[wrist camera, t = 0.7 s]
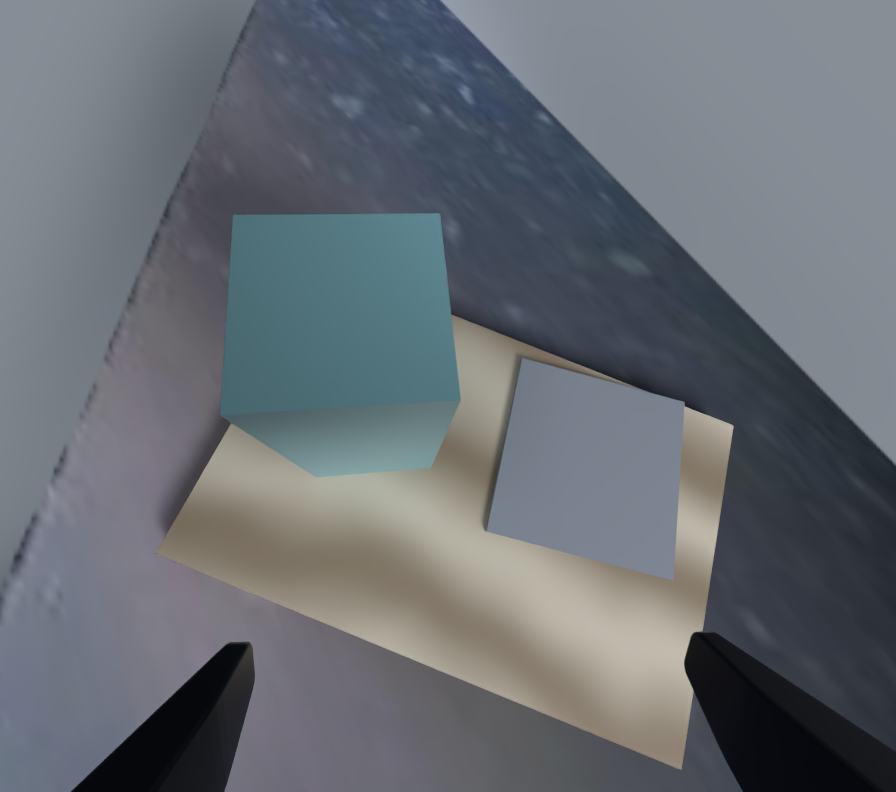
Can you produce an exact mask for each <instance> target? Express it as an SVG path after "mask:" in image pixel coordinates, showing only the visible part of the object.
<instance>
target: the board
mask: <svg viewBox="0 0 896 792" xmlns="http://www.w3.org/2000/svg"><path fill="white" fill-rule="evenodd" d="M451 317H452V326H453V335H454V343H455V352H456V361H457V370H458V379H459V388H460V397H461V401H460V403H459V406H458V408H457V410H456V412H455V415H454V417H453V419H452V421H451V424H450V426H449V428H448V430H447V433H446V435H445V437H444V439H443V442H442V444H441V446H440V448H439V451H438V453H437V455H436V457H435V460H434V462H433V464H432V466H431V468H424V469H412V470H400V471H388V472H376V473H365V474H353V475H341V476H329V477H317V478H316V477H314V476H313V475H311V474H310V473H308V472H307V471H305V470H303V469H302V468H300V467H299V466H297V465H296V464H294V463H293V462H291V461H290V460H288V459H286V458H285V457H283V456H282V455H280V454H279V453H277V452H276V451H274V450H272V449H271V448H269V447H268V446H266V445H265V444H263V443H262V442H260V441H258V440H257V439H255V438H254V437H252V436H251V435H249V434H248V433H246V432H245V431H243V430H241V429H240V428H238V427H237V426H235V425H234V424H232V423H231V425H230V426H229V428H228V430H227V432H226V433H225V435H224V437H223V438H222V440H221V442H220V444H219V445H218V447H217V449H216V450H215V452H214V454H213V456H212V457H211V459H210V461H209V462H208V464H207V466H206V468H205V469H204V471H203V473H202V475H201V476H200V478H199V480H198V481H197V483H196V485H195V487H194V488H193V490H192V492H191V493H190V495H189V497H188V499H187V500H186V502H185V504H184V505H183V507H182V509H181V511H180V512H179V514H178V516H177V517H176V519H175V521H174V523H173V524H172V526H171V528H170V530H169V531H168V533H167V535H166V536H165V538H164V540H163V542H162V543H161V545H160V547H159V548H158V550H157V552H156V554H157V555H160V556H162V557H165V558H167V559H170V560H172V561H174V562H177V563H179V564H182V565H184V566H187V567H189V568H192V569H194V570H196V571H199V572H201V573H204V574H206V575H209V576H211V577H213V578H216V579H218V580H221V581H223V582H226V583H228V584H230V585H233V586H235V587H238V588H240V589H243V590H245V591H247V592H250V593H252V594H255V595H257V596H260V597H262V598H264V599H267V600H269V601H272V602H274V603H277V604H279V605H281V606H284V607H286V608H289V609H291V610H294V611H296V612H298V613H301V614H303V615H306V616H308V617H311V618H313V619H315V620H318V621H320V622H323V623H325V624H328V625H330V626H333V627H335V628H337V629H340V630H342V631H345V632H347V633H350V634H352V635H354V636H357V637H359V638H362V639H364V640H367V641H369V642H371V643H374V644H376V645H379V646H381V647H384V648H386V649H388V650H391V651H393V652H396V653H398V654H401V655H403V656H405V657H408V658H410V659H413V660H415V661H418V662H420V663H422V664H425V665H427V666H430V667H432V668H435V669H437V670H439V671H442V672H444V673H447V674H449V675H452V676H454V677H457V678H459V679H461V680H464V681H466V682H469V683H471V684H474V685H476V686H478V687H481V688H483V689H486V690H488V691H491V692H493V693H495V694H498V695H500V696H503V697H505V698H508V699H510V700H512V701H515V702H517V703H520V704H522V705H525V706H527V707H529V708H532V709H534V710H537V711H539V712H542V713H544V714H546V715H549V716H551V717H554V718H556V719H559V720H561V721H563V722H566V723H568V724H571V725H573V726H576V727H578V728H580V729H583V730H585V731H588V732H590V733H593V734H595V735H598V736H600V737H602V738H605V739H607V740H610V741H612V742H615V743H617V744H619V745H622V746H624V747H627V748H629V749H632V750H634V751H636V752H639V753H641V754H644V755H646V756H649V757H651V758H653V759H656V760H658V761H661V762H663V763H666V764H668V765H670V766H673V767H675V768H678V769H680V770H681V769H682V763H683V756H684V749H685V743H686V736H687V730H688V723H689V716H690V710H691V703H692V697H693V688H692V686H691V684H690V682H689V680H688V677H687V675H686V672H685V668H684V659H685V655H686V652H687V648H688V645H689V641H690V637H691V635H692V634H693V633H694V632H699V631H702V630H703V624H704V617H705V611H706V604H707V597H708V591H709V584H710V577H711V571H712V564H713V558H714V551H715V544H716V538H717V531H718V525H719V518H720V511H721V505H722V498H723V491H724V485H725V478H726V472H727V465H728V458H729V452H730V445H731V438H732V432H733V425H731V424H728V423H725V422H723V421H720V420H718V419H715V418H713V417H710V416H708V415H705V414H703V413H700V412H698V411H695V410H692V409H690V408H687V407H685V406H684V421H683V437H682V453H681V468H680V484H679V500H678V516H677V532H676V548H675V564H674V580H668V579H664V578H660V577H657V576H653V575H649V574H645V573H641V572H638V571H634V570H630V569H626V568H622V567H619V566H615V565H611V564H607V563H603V562H600V561H596V560H592V559H588V558H584V557H581V556H577V555H573V554H569V553H565V552H562V551H558V550H554V549H550V548H546V547H543V546H539V545H535V544H531V543H527V542H524V541H520V540H516V539H512V538H508V537H505V536H501V535H497V534H493V533H489V532H486V531H485V529H486V525H487V520H488V515H489V510H490V505H491V501H492V496H493V491H494V486H495V481H496V476H497V472H498V467H499V462H500V457H501V452H502V447H503V443H504V438H505V433H506V428H507V423H508V418H509V414H510V409H511V404H512V399H513V394H514V389H515V385H516V380H517V375H518V370H519V365H520V361H521V359H522V358H524V359H528V360H532V361H535V362H539V363H543V364H546V365H550V366H554V367H557V368H561V369H565V370H568V371H572V372H576V373H579V374H583V375H587V376H591V377H594V378H598V379H602V380H605V381H609V382H613V383H616V384H620V385H624V386H627V387H631V388H635V389H638V390H642V389H639V388H637V387H634V386H632V385H629V384H626V383H624V382H621V381H619V380H616V379H614V378H611V377H609V376H606V375H604V374H601V373H599V372H596V371H593V370H591V369H588V368H586V367H583V366H581V365H578V364H576V363H573V362H571V361H568V360H566V359H563V358H560V357H558V356H555V355H553V354H550V353H548V352H545V351H543V350H540V349H538V348H535V347H533V346H530V345H527V344H525V343H522V342H520V341H517V340H515V339H512V338H510V337H507V336H505V335H502V334H500V333H497V332H494V331H492V330H489V329H487V328H484V327H482V326H479V325H477V324H474V323H472V322H469V321H467V320H464V319H461V318H459V317H456V316H454V315H451ZM642 391H644V390H642ZM646 392H647V391H646Z"/></svg>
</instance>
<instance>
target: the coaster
mask: <svg viewBox="0 0 896 792" xmlns="http://www.w3.org/2000/svg"><path fill="white" fill-rule="evenodd" d="M684 405H685V402H682V401H679V400H675V399H671V398H668V397H664V396H660V395H657V394H653V393H649V392H646V391H642V390H638V389H635V388H631V387H627V386H624V385H620V384H616V383H613V382H609V381H605V380H602V379H598V378H594V377H591V376H587V375H583V374H579V373H576V372H572V371H568V370H565V369H561V368H557V367H554V366H550V365H546V364H543V363H539V362H535V361H532V360H528V359H524V358H522V359H521V361H520V365H519V370H518V375H517V380H516V385H515V389H514V394H513V399H512V404H511V409H510V414H509V418H508V423H507V428H506V433H505V438H504V443H503V447H502V452H501V457H500V462H499V467H498V472H497V476H496V481H495V486H494V491H493V496H492V501H491V505H490V510H489V515H488V520H487V525H486V529H485V531H486V532H489V533H493V534H497V535H501V536H505V537H508V538H512V539H516V540H520V541H524V542H527V543H531V544H535V545H539V546H543V547H546V548H550V549H554V550H558V551H562V552H565V553H569V554H573V555H577V556H581V557H584V558H588V559H592V560H596V561H600V562H603V563H607V564H611V565H615V566H619V567H622V568H626V569H630V570H634V571H638V572H641V573H645V574H649V575H653V576H657V577H660V578H664V579H668V580H674V564H675V548H676V532H677V516H678V500H679V484H680V468H681V453H682V437H683V421H684Z"/></svg>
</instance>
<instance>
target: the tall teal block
mask: <svg viewBox="0 0 896 792" xmlns="http://www.w3.org/2000/svg"><path fill="white" fill-rule="evenodd" d="M460 401H461V397H460V388H459V379H458V370H457V361H456V352H455V343H454V335H453V326H452V317H451V308H450V299H449V290H448V281H447V272H446V264H445V255H444V246H443V237H442V228H441V219H440V214H287V215H233V224H232V239H231V254H230V269H229V284H228V300H227V315H226V330H225V345H224V361H223V376H222V391H221V406H220V416H221V417H223V418H224V419H226V420H227V421H229V422H231V423H232V424H234V425H235V426H237V427H238V428H240V429H241V430H243V431H245V432H246V433H248V434H249V435H251V436H252V437H254V438H255V439H257V440H258V441H260V442H262V443H263V444H265V445H266V446H268V447H269V448H271V449H272V450H274V451H276V452H277V453H279V454H280V455H282V456H283V457H285V458H286V459H288V460H290V461H291V462H293V463H294V464H296V465H297V466H299V467H300V468H302V469H303V470H305V471H307V472H308V473H310V474H311V475H313V476H314V477H316V478H317V477H329V476H341V475H353V474H365V473H376V472H388V471H400V470H412V469H424V468H431V466H432V464H433V462H434V460H435V457H436V455H437V453H438V451H439V448H440V446H441V444H442V442H443V439H444V437H445V435H446V433H447V430H448V428H449V426H450V424H451V421H452V419H453V417H454V415H455V412H456V410H457V408H458V406H459V403H460Z"/></svg>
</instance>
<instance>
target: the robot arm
mask: <svg viewBox="0 0 896 792" xmlns="http://www.w3.org/2000/svg"><path fill="white" fill-rule="evenodd" d="M684 668H685V672H686V675H687V677H688V680H689V682H690V684H691V686H692V688H693V691H694V693H695V695H696V697H697V699H698V702H699V704H700V706H701V708H702V710H703V712H704V715H705V717H706V719H707V721H708V723H709V726H710V728H711V730H712V732H713V734H714V737H715V739H716V741H717V743H718V745H719V747H720V749H721V751H722V754H723V756H724V758H725V760H726V762H727V763H728V765H729V767H730V769H731V771H732V773H733V775H734V777H735V778H736V780H737V782H738V784H739V786H740V787H741V789H742V791H743V792H896V751H894V750H893V749H891V748H890V747H888V746H887V745H885V744H884V743H882V742H881V741H879V740H878V739H876V738H875V737H873V736H872V735H870V734H869V733H867V732H866V731H864V730H863V729H861V728H860V727H858V726H857V725H855V724H853V723H852V722H850V721H849V720H847V719H846V718H844V717H843V716H841V715H840V714H838V713H837V712H835V711H834V710H832V709H831V708H829V707H828V706H826V705H825V704H823V703H822V702H820V701H819V700H817V699H815V698H814V697H812V696H811V695H809V694H808V693H806V692H805V691H803V690H802V689H800V688H799V687H797V686H796V685H794V684H793V683H791V682H790V681H788V680H787V679H785V678H784V677H782V676H781V675H779V674H778V673H776V672H774V671H773V670H771V669H770V668H768V667H767V666H765V665H764V664H762V663H761V662H759V661H758V660H756V659H755V658H753V657H752V656H750V655H749V654H747V653H746V652H744V651H743V650H741V649H740V648H738V647H737V646H735V645H733V644H732V643H730V642H729V641H727V640H726V639H724V638H723V637H721V636H720V635H718V634H717V633H715V632H711V631H699V632H694V633H693V634H692V635H691V637H690V641H689V645H688V648H687V652H686V655H685V659H684ZM254 679H255V671H254V660H253V649H252V645H251V643H250V642H230V643H228V644H226V645H225V646H224V647H223V648H222V649H221V650H220V651H218V652H217V653H216V654H215V655H214V656H213V657H212V658H211V659H210V660H209V661H208V662H207V663H206V664H205V665H204V666H203V667H202V668H201V669H200V670H198V671H197V672H196V673H195V674H194V675H193V676H192V677H191V678H190V679H189V680H188V681H187V682H186V683H185V684H184V685H183V686H182V687H181V688H180V689H178V690H177V691H176V692H175V693H174V694H173V695H172V696H171V697H170V698H169V699H168V700H167V701H166V702H165V703H164V704H163V705H162V706H161V707H160V708H158V709H157V710H156V711H155V712H154V713H153V714H152V715H151V716H150V717H149V718H148V719H147V720H146V721H145V722H144V723H143V724H142V725H141V726H140V727H138V728H137V729H136V730H135V731H134V732H133V733H132V734H131V735H130V736H129V737H128V738H127V739H126V740H125V741H124V742H123V743H122V744H121V745H120V746H118V747H117V748H116V749H115V750H114V751H113V752H112V753H111V754H110V755H109V756H108V757H107V758H106V759H105V760H104V761H103V762H102V763H101V764H100V765H98V766H97V767H96V768H95V769H94V770H93V771H92V772H91V773H90V774H89V775H88V776H87V777H86V778H85V779H84V780H83V781H82V782H81V783H80V784H78V785H77V786H76V787H75V788H74V789H73V790H72V791H71V792H224V791H225V788H226V785H227V781H228V778H229V774H230V771H231V767H232V764H233V760H234V756H235V753H236V749H237V745H238V742H239V738H240V734H241V731H242V727H243V723H244V720H245V716H246V712H247V709H248V705H249V701H250V698H251V694H252V690H253V686H254Z"/></svg>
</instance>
